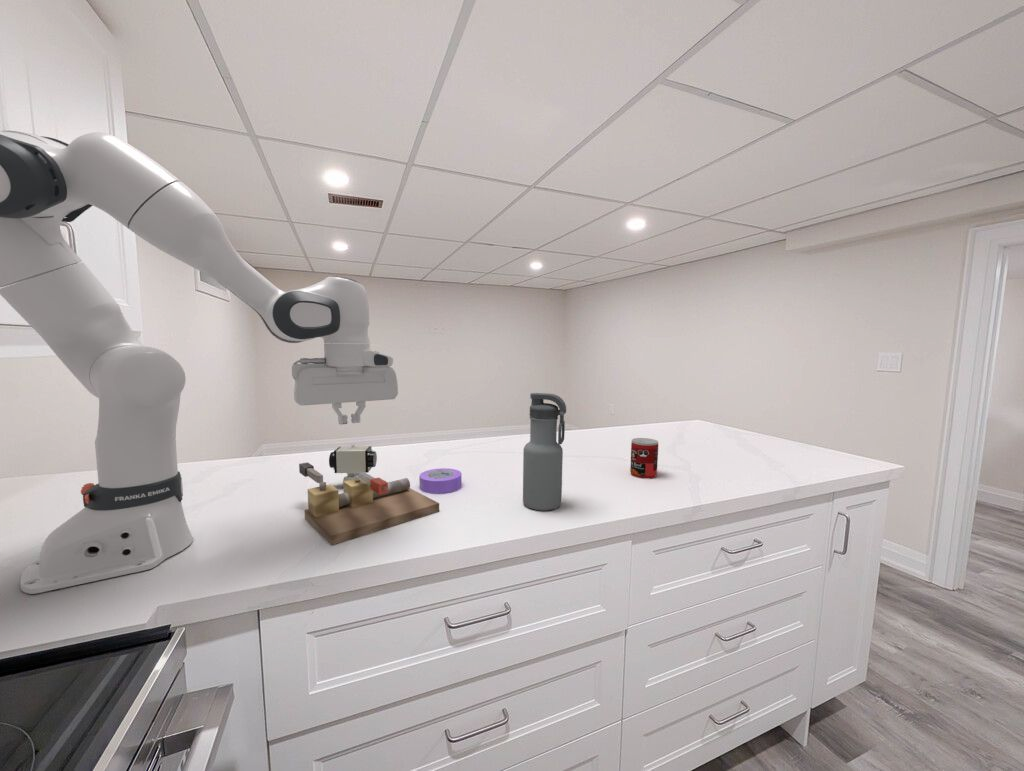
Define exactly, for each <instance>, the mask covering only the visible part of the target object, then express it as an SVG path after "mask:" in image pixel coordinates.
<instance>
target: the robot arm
mask: <svg viewBox="0 0 1024 771" xmlns="http://www.w3.org/2000/svg"><path fill="white" fill-rule="evenodd" d="M93 206H94V208H97V209H99V210H101V211H103V212H104V213H106V214H108V215H109V216H110V217H112V218H113V219H115V220H116V221H117V222H118V223H120V224H121V225H123V226H124V227H125V228H127V229H128V230H130V231H131V232H133V233H134V234H135V235H136V236H137V237H139V238H141V239H142V240H144V241H145V242H148V243H149V244H150V245H151V246H153V247H156V248H157V249H158V250H159V251H162V252H163V253H164V254H168V256H171V257H173V258H175V259H177V260H178V261H180V262H183V263H184V264H186V265H188V266H190V267H192V268H194V269H196V270H197V271H199V272H201V273H203V274H205V275H206V276H208V277H209V278H212V279H213V280H215V281H216V282H217V283H218V284H220V285H221V286H223V287H224V288H225V289H227V290H228V291H229V292H231V293H232V294H233V295H234V296H236V297H237V298H239V299H240V300H241V301H242V302H243V303H245V304H246V305H247V306H249V307H250V308H251V309H253V310H254V312H256V313H257V314H258V316H259V317H260V319H261V320H262V323H263V324H264V326H265V327H266V329H267V330H268V332H269V333H270V334H271V335H272V336H273V337H275V338H276V339H277V340H279V341H281V342H284V343H288V344H298V343H303V342H307V341H312V340H313V339H316V338H321V339H323V346H324V347H323V348H324V349H323V353H324V354H323V355H324V357H314V358H308V357H302V358H300V359H299V360H296V361H295V362H293V364H292V366H291V376H292V378H293V379H294V387H293V388H294V390H293V398H294V399H293V400H294V401H295V403H296V404H298V405H299V406H314V405H329V404H331V408H332V410H333V411H334V413H335V414H336V416H337V417H338V418H337V422H338V424H339V425H341V426H342V425H348V423H349V421H348V415H346V414H343V413H342V411H341V410H340V409H342V404H343V403H344V404H345V403H346V404H347V403H355V404H356V405H355V406H357V409H356V410H355V412H354V413H350V418H351V419H350V421H351V424H359V423H360V424H361V415H362V413H363V412H364V410H365V408H366V402H372V401H374V402H375V401H386V400H387V401H388V400H389V401H390V400H396V398H397V396H398V394H399V389H398V388H399V385H398V378H397V373H396V371H395V369H394V368H393V367H391V366H393V364H394V358H393V357H392V356H390V355H388V354H385V353H382V352H379V351H376V350H375V351H374V350H372V349H371V345H370V344H371V342H370V338H369V335H368V331H369V325H370V310H369V309H370V308H369V301H368V294H367V291H366V288H365V287H364V285H363V284H362V283H360V282H358V281H357V280H355V279H352V278H349V277H345V276H338V275H331V276H327V277H326V278H324V279H323V280H321V281H319V282H316V283H314V284H313V285H308V286H306V287H303V288H298V289H292V290H289V291H283V290H282V289H280V288H278V287H277V286H276V285H275V284H273V283H272V282H271V281H270V280H268V279H267V278H266V276H264V275H262V274H261V273H260V272H259V271H258V270H256V269H255V268H254V267H253V266H252V265H251V264H249V263H248V262H247V261H246V260H245V259H244V258H243V257H242V256H241V255H240V254H239V253H238V252H237V250H236V248H235V247H234V246H233V244H232V243H231V240H230V239H229V237H228V235H227V233H226V231H225V229H224V226H223V223H222V222H221V220H220V219H219V217H218V215H216V214H215V212H214V211H213V210H212V209H211V208H210V206H208V205H207V203H206V202H205V201H204V200H203V199H202V198H201V197H200V196H199V195H198V194H197V193H195V191H193V190H192V189H191V188H190V187H189V186H187V185H186V183H184V182H182V180H180V179H179V178H178V177H176V176H175V175H174V174H173V173H171V172H170V171H169V170H167V169H166V168H165V167H163V165H161V164H159V163H158V161H157V162H156V161H155V159H152V158H151V157H149V155H147V154H145V152H142V151H141V150H139V149H137V148H136V147H134V146H133V145H131V144H129V142H127V141H125V140H123V139H122V138H119V137H118V136H116V135H113V134H111V133H107V132H90V133H85V134H83V135H79V136H78V137H76V138H74V140H72V141H71V142H70V143H67V142H64V141H63V140H60V139H56V138H53V137H49V136H39V135H36V134H31V133H28V132H21V131H16V130H0V296H1V297H2V298H3V299H4V300H5V301H6V303H8V305H10V306H11V307H12V309H13V310H14V311H16V313H18V315H20V317H22V318H23V320H24V321H25V322H27V324H29V326H30V327H31V328H32V329H34V331H35V332H36V333H37V334H38V335H39V336H40V338H41V339H42V340H43V341H44V342H45V343H46V344H47V346H49V348H50V350H51V351H53V353H54V354H55V355H56V357H57V358H58V359H59V360H60V361H61V362H62V364H64V366H65V367H66V368H67V369H68V371H69V372H71V374H72V375H73V376H74V377H75V378H76V379H77V380H78V382H80V383H81V385H82V386H83V387H84V388H85V389H86V391H88V392H89V393H90V394H91V395H93V396H94V397H96V398H98V404H99V405H98V419H97V420H98V422H97V432H96V437H95V440H94V446H95V448H94V449H95V459H96V470H97V480H98V481H97V482H98V483H96V484H95V483H92V482H88V483H85V484H84V485H83V486H81V490H80V494H81V496H82V502H83V503H82V504H83V506H84V508H82V509H81V510H79V511H78V512H76V514H74V515H73V516H71V517H70V518H69V519H68V520H66V521H64V522H63V523H62V524H60V525H59V526H57V527H56V528H55V529H53V531H51V532H50V533H49V534H48V536H47V537H46V538H45V540H44V542H43V544H42V546H41V549H40V553H39V559H37V560H35V561H34V562H33V563H31V564H30V565H28V566H27V567H26V569H24V571H23V572H22V574H21V577H20V582H19V584H20V585H19V586H20V588H19V589H20V590H21V591H22V592H24V593H25V594H30V595H35V594H41V593H46V592H50V591H53V590H58V589H64V588H69V587H74V586H76V585H82V584H87V583H91V582H97V581H101V580H106V579H110V578H115V577H121V576H125V575H129V574H130V575H131V574H133V573H138V572H143V571H148V570H150V569H153V568H155V567H157V566H159V565H160V564H161V563H163V561H165V560H166V559H168V558H170V557H172V556H174V555H176V554H179V553H180V552H181V551H184V550H185V549H187V548H188V547H189V546H190V545H191V544H192V543H193V541H194V537H193V534H192V533H191V530H190V528H189V526H188V523H187V520H186V517H185V513H184V509H183V508H184V507H183V503H182V502H183V497H184V487H183V478H182V474H181V472H180V471H179V470H178V456H177V440H176V435H177V434H176V432H177V424H178V418H179V416H178V415H179V411H180V404H181V403H180V402H181V393H182V392H183V390H184V388H185V386H186V378H187V377H186V374H185V373H186V372H185V370H184V368H183V366H182V365H181V364H180V363H179V361H178V360H176V359H175V358H174V356H172V355H170V354H169V353H167V352H165V351H164V350H161V349H158V348H156V347H152V346H145V345H143V343H142V342H141V341H140V340H139V338H138V337H137V335H136V334H135V332H134V331H133V329H132V328H131V326H130V325H129V323H128V321H127V319H126V318H125V316H124V315H123V312H122V310H121V307H120V305H119V304H118V302H117V301H116V300H115V299H114V297H113V296H112V295H111V294H110V293H109V291H107V290H108V289H106V288H105V287H104V285H103V284H102V283H101V282H100V281H99V279H98V278H97V277H96V275H94V273H93V272H92V271H91V270H90V268H89V267H88V266H87V265H86V263H85V262H83V260H82V259H81V258H80V256H79V255H77V253H76V252H75V250H73V249H72V248H71V246H70V245H69V243H68V242H67V241H66V240H65V238H64V236H63V234H62V232H61V224H62V222H63V223H71V222H74V221H75V220H76V219H77V218H78V217H80V216H81V215H82V214H83V213H85V212H86V211H87V210H89V209H90V208H92V207H93Z"/></svg>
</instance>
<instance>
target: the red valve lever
mask: <svg viewBox="0 0 1024 771" xmlns="http://www.w3.org/2000/svg"><path fill="white" fill-rule="evenodd" d="M355 481H356V482H358V481H362V482H364V483H366V484H367V485H369V486H370V489H371V490H373V491H374V492H376V493H378V494H383V493H387V492H388V482H389V481H386V480H385V479H382V478H381V477H374V476H372V475H370V474H369V473H365V472H363V471H362V472H358V475H355Z"/></svg>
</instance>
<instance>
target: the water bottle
mask: <svg viewBox="0 0 1024 771" xmlns="http://www.w3.org/2000/svg"><path fill="white" fill-rule="evenodd" d="M530 399H531V405H530V406H529V419H530V420H529V421H530V426H529V427H530V429H529V430H530V432H529V433H530V434H529V435H530V436H529V441H528V442H527V443H526V444H525V445H524V446H523V456H522V457H523V462H522V467H523V468H522V469H523V470H522V474H523V475H522V479H523V480H522V503H523V504H524V506H526V507H527V508H528V509H531V510H535V511H552V510H553V511H554V510H555V509H558V508H560V506H561V504H562V496H563V495H562V492H563V490H562V489H563V459H564V458H563V455H564V453H563V448H562V444H563V442H564V440H565V433H566V432H565V431H566V430H565V429H566V426H565V425H566V422H565V414H566V413H567V404H566V403H565V401H564V399H563V398H562V397H560V396H559V395H557V394H554V393H546V392H545V393H544V392H543V393H542V392H532V393H530ZM544 400H545V401H550V402H553V403H555V404H553V403H547V402H544ZM558 419H559V424H558V425H557V423H558ZM557 426H558V427H557ZM557 428H558V429H557ZM557 430H558V432H557ZM557 435H558V436H557ZM557 437H558V438H557Z"/></svg>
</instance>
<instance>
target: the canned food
mask: <svg viewBox="0 0 1024 771" xmlns="http://www.w3.org/2000/svg"><path fill="white" fill-rule="evenodd" d="M630 446H631V447H630V467H629V468H630V469H629V470H630V471H629V472H630V475H631V476H633V477H635V478H638V479H644V478H650V479H654V477H655V478H656V477H657V474H658V461H659V458H658V457H659V441H658V440H656V439H654V438H648V437H647V438H646V437H636V438H632V439H631V444H630Z"/></svg>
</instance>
